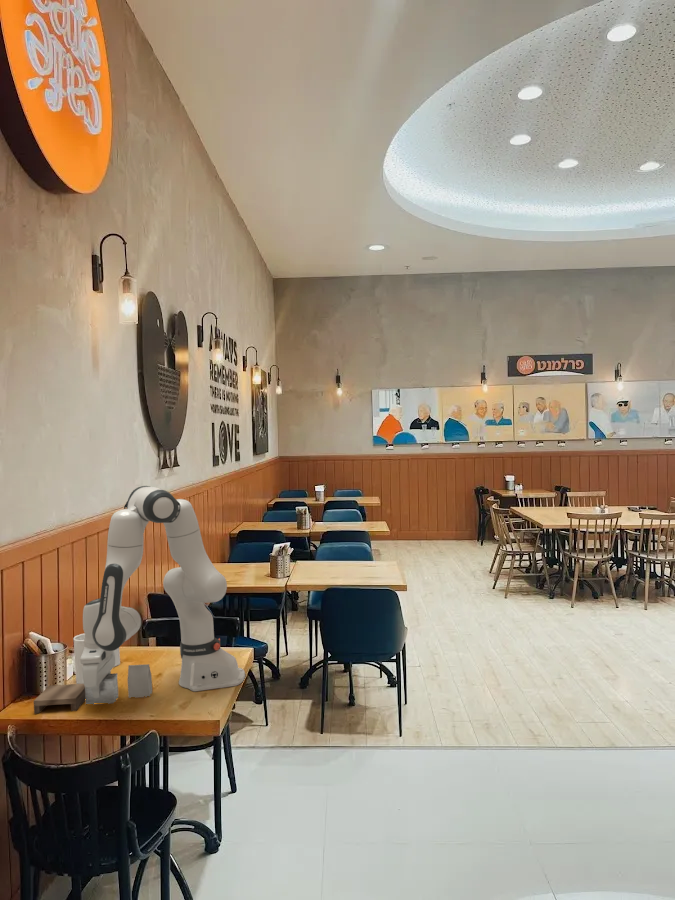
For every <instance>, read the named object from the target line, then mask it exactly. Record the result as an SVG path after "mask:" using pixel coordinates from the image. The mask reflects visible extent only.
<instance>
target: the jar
mask: <svg viewBox="0 0 675 900" xmlns="http://www.w3.org/2000/svg"><path fill="white" fill-rule="evenodd" d="M114 653H115V666H114V667H113V668H115V667H117V666H119V665H121V655H120V653H121V651H120V647H119V648H118V649H116V650H114Z"/></svg>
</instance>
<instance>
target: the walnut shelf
mask: <svg viewBox="0 0 675 900" xmlns="http://www.w3.org/2000/svg"><path fill="white" fill-rule="evenodd" d="M85 699H86V698H85V686H84V684H76V683H72V684H56V685H54V684H53V685H48V686H47V687H46V688H45V689H44V690H43V691H42V692H41V693H40V694H39V695H38V696H37V697H36V698H35V699H34V700H33V712H34V713H33V714H41V712H42V711H43V710H44V709H45V708H46V707H47V706H55V705H56V706H57V705H58V706H59V705H70V712H77V711H78V710H79V708H80V707H81V706H82V705H83V703H84V702H86V700H85Z"/></svg>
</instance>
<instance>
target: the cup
mask: <svg viewBox="0 0 675 900" xmlns="http://www.w3.org/2000/svg"><path fill="white" fill-rule="evenodd" d="M84 639H85V633H80V634H77V635H75V636H74V637H73V652H74V665H75V667H74V670H75V681H76V683H75V684H84V681H83V672H82V667H83V664H81V662H80V658H81V655H82V653H83V650H84Z"/></svg>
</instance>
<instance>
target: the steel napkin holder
mask: <svg viewBox="0 0 675 900" xmlns="http://www.w3.org/2000/svg"><path fill="white" fill-rule="evenodd" d="M118 676H119V675H118V672H116V673H111V674H107V675H106V677H105V678H104V679H103V680H102V681H101V683H100V684H99V690H100V696H99V697H98V698H94V697H93V692H92V690H91V688H88V689H87V688H85V698H86V700H85V705H86V704H93V705H95V704H94V703H108V704H115V703H116V701H117V700H118V699H119V685H118V684H119V683H118V682H119V681H118ZM117 698H118V699H117ZM116 699H117V700H116ZM114 702H115V703H114Z"/></svg>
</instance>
